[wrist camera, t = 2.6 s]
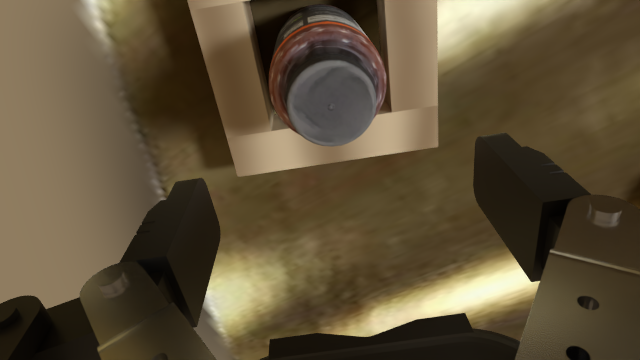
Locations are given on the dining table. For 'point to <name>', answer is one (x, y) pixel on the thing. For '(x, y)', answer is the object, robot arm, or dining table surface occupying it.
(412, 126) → the pocket block
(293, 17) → the supplement bottle
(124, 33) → the dining table surface
